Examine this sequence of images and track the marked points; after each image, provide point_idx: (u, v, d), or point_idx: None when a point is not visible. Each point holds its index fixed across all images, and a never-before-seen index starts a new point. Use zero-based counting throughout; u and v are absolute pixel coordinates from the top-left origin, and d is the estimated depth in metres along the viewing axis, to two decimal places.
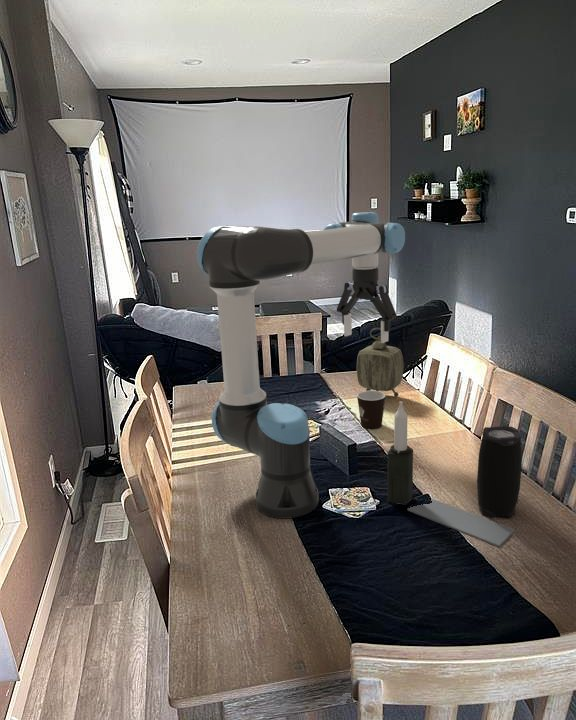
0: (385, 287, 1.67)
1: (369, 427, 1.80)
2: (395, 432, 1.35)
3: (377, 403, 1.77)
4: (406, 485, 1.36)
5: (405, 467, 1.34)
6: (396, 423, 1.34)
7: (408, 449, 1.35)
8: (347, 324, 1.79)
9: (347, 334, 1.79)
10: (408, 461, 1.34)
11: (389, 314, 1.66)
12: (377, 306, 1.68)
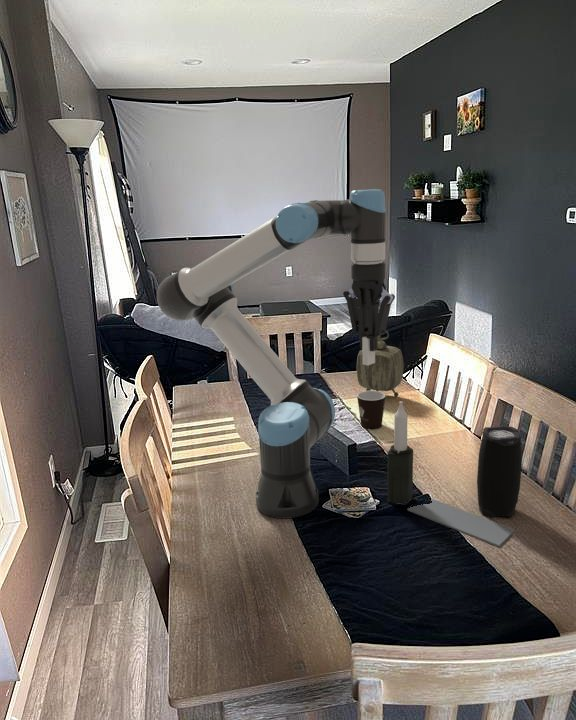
0: (392, 299, 1.28)
1: (369, 427, 1.80)
2: (395, 432, 1.35)
3: (377, 403, 1.77)
4: (406, 485, 1.36)
5: (405, 467, 1.34)
6: (396, 423, 1.34)
7: (408, 449, 1.35)
8: None
9: None
10: (408, 461, 1.34)
11: (377, 329, 1.31)
12: (370, 317, 1.32)
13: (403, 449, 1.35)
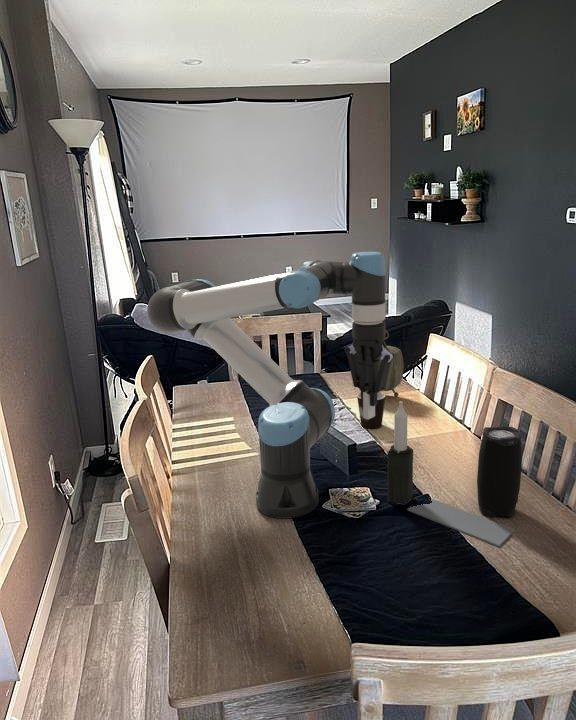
0: (392, 357, 1.32)
1: (369, 427, 1.80)
2: (395, 432, 1.35)
3: (377, 403, 1.77)
4: (406, 485, 1.36)
5: (405, 467, 1.34)
6: (396, 423, 1.34)
7: (408, 449, 1.35)
8: None
9: None
10: (408, 461, 1.34)
11: (377, 386, 1.35)
12: (370, 374, 1.36)
13: (403, 449, 1.35)
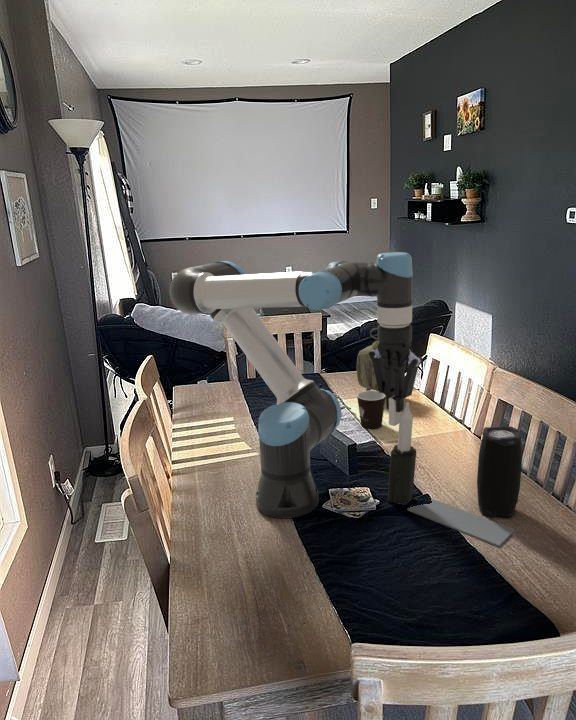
0: (419, 362, 1.27)
1: (369, 427, 1.80)
2: (399, 432, 1.34)
3: (377, 403, 1.77)
4: (407, 486, 1.35)
5: (408, 468, 1.34)
6: (401, 424, 1.33)
7: (411, 450, 1.35)
8: None
9: None
10: (411, 462, 1.34)
11: (404, 392, 1.30)
12: (397, 379, 1.31)
13: (406, 450, 1.34)
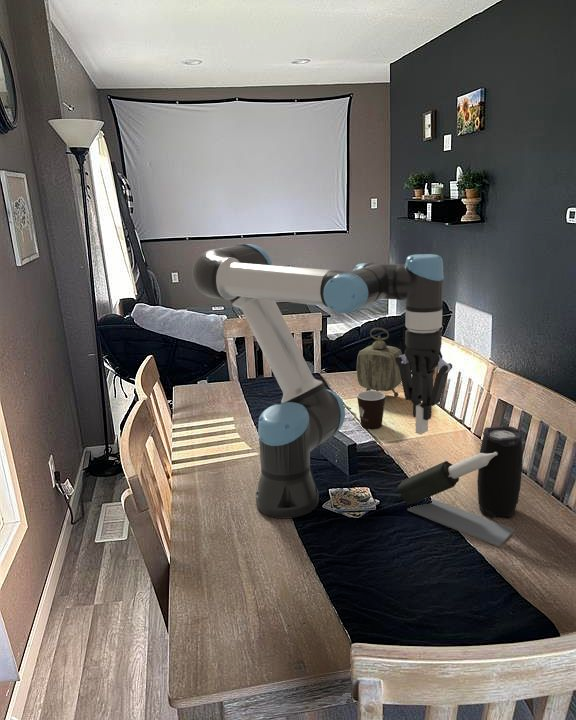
0: (449, 368, 1.23)
1: (369, 427, 1.80)
2: (464, 464, 1.27)
3: (377, 403, 1.77)
4: (425, 497, 1.34)
5: (441, 490, 1.31)
6: (473, 462, 1.26)
7: (457, 479, 1.31)
8: None
9: None
10: (448, 488, 1.31)
11: (432, 399, 1.25)
12: (425, 386, 1.26)
13: (454, 478, 1.30)
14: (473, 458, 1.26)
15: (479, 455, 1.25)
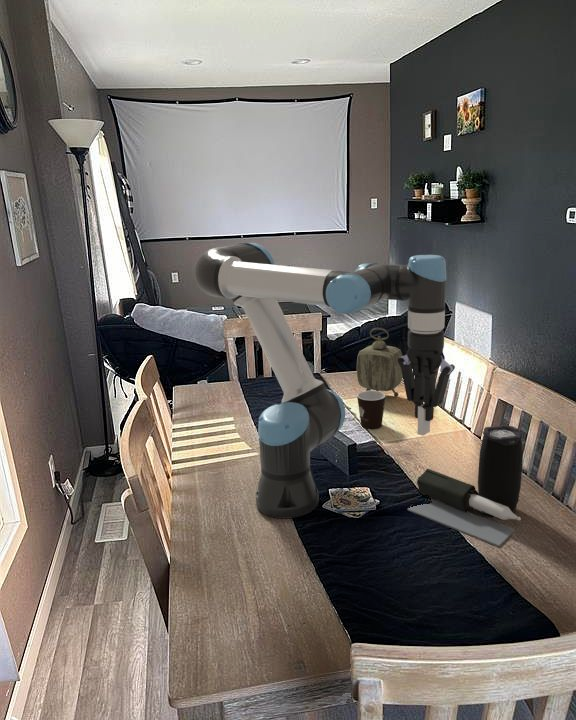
0: (452, 369, 1.22)
1: (369, 427, 1.80)
2: (490, 500, 1.29)
3: (377, 403, 1.77)
4: (435, 486, 1.36)
5: (452, 492, 1.33)
6: (499, 504, 1.27)
7: (467, 505, 1.31)
8: None
9: None
10: (456, 498, 1.32)
11: (435, 400, 1.25)
12: (427, 387, 1.26)
13: (470, 500, 1.31)
14: None
15: (508, 507, 1.26)
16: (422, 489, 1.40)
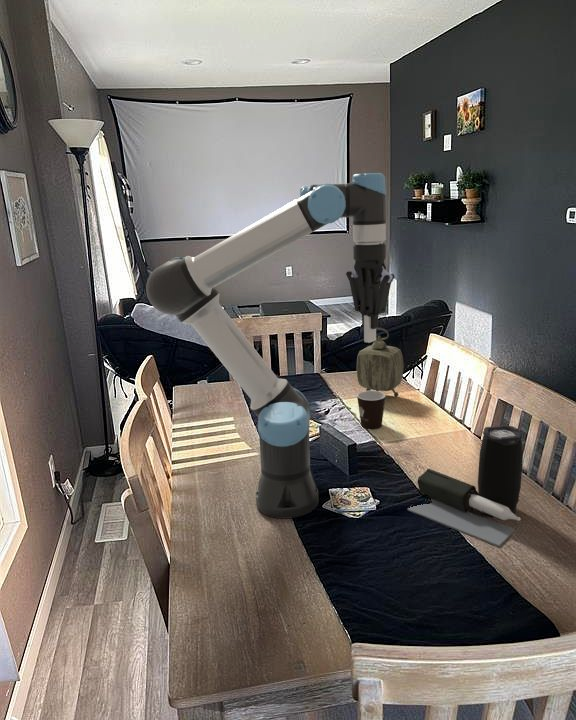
0: (391, 278, 1.34)
1: (369, 427, 1.80)
2: (490, 500, 1.29)
3: (377, 403, 1.77)
4: (435, 486, 1.36)
5: (452, 491, 1.33)
6: (499, 504, 1.27)
7: (467, 505, 1.31)
8: None
9: None
10: (457, 497, 1.32)
11: (377, 308, 1.37)
12: (371, 296, 1.38)
13: (470, 499, 1.31)
14: (501, 505, 1.27)
15: (508, 508, 1.26)
16: (422, 489, 1.40)
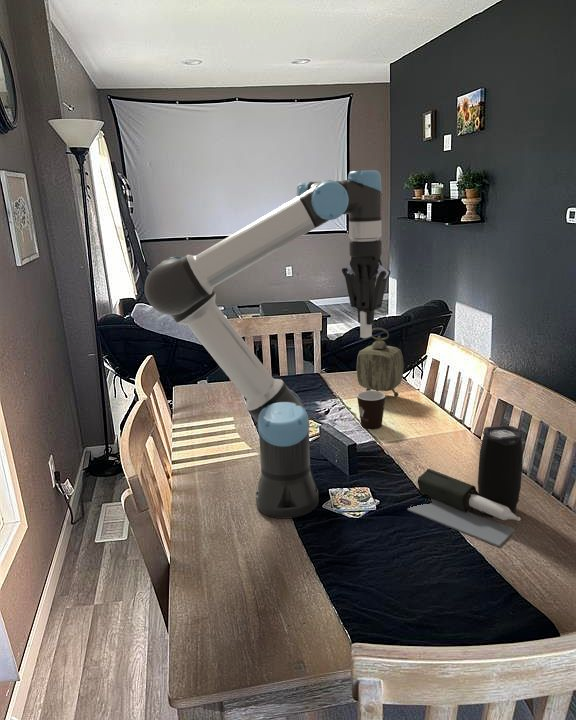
0: (388, 274, 1.36)
1: (369, 427, 1.80)
2: (490, 500, 1.29)
3: (377, 403, 1.77)
4: (435, 486, 1.36)
5: (452, 491, 1.33)
6: (499, 504, 1.27)
7: (467, 505, 1.31)
8: None
9: None
10: (457, 497, 1.32)
11: (374, 304, 1.39)
12: (367, 292, 1.40)
13: (470, 499, 1.31)
14: (501, 505, 1.27)
15: (508, 508, 1.26)
16: (422, 488, 1.40)
